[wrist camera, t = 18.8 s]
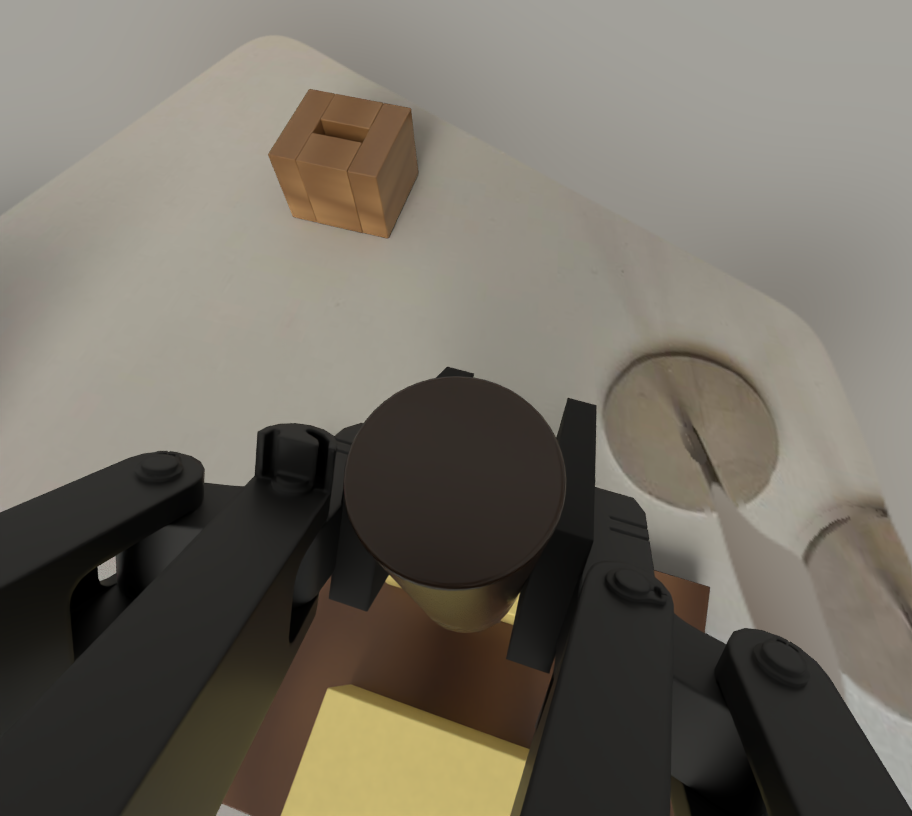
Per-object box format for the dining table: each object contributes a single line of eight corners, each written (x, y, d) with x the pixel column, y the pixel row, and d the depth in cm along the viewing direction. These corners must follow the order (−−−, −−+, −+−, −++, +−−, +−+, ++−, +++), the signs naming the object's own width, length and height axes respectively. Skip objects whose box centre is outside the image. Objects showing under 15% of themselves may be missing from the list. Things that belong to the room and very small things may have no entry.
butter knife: (512, 584, 21) (588, 404, 7) (493, 655, 20) (536, 624, 6) (447, 563, 22) (388, 351, 7) (426, 632, 21) (305, 548, 6)
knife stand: (419, 173, 38) (411, 107, 34) (388, 239, 36) (375, 177, 31) (328, 155, 39) (308, 88, 35) (292, 217, 37) (267, 154, 32)
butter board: (698, 590, 26) (710, 586, 25) (650, 966, 21) (662, 987, 19) (311, 473, 29) (303, 463, 28) (179, 772, 24) (161, 779, 22)
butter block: (533, 750, 22) (544, 766, 19) (499, 901, 20) (505, 952, 17) (350, 684, 24) (327, 686, 20) (301, 820, 22) (267, 851, 18)
